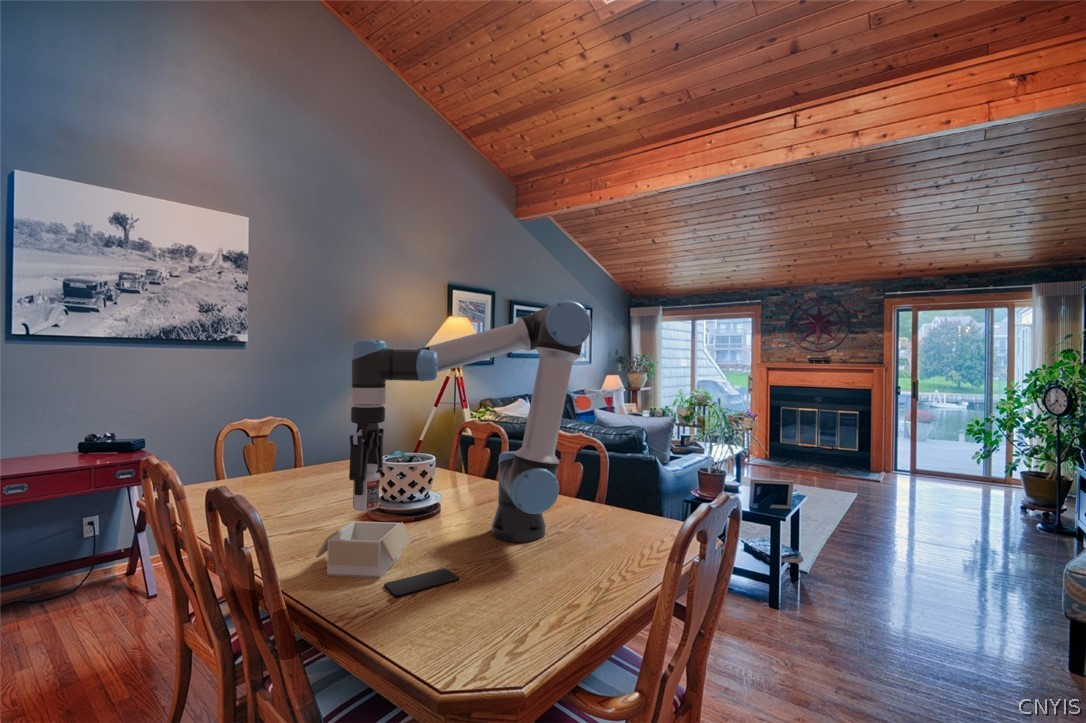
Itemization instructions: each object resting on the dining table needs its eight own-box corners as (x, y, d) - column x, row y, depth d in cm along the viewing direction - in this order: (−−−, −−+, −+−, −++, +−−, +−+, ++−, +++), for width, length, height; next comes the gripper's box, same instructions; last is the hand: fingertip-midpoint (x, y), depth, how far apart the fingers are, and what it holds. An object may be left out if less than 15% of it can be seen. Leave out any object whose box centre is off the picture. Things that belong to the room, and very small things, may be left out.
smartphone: (461, 578, 108) (395, 596, 98) (461, 582, 108) (395, 601, 98) (446, 567, 114) (382, 583, 104) (445, 571, 114) (381, 587, 104)
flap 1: (352, 520, 122) (342, 537, 122) (326, 537, 109) (315, 556, 109) (353, 521, 122) (343, 538, 122) (328, 538, 109) (317, 558, 109)
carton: (401, 554, 121) (401, 522, 121) (379, 579, 108) (379, 542, 108) (354, 552, 122) (354, 520, 122) (326, 576, 108) (326, 540, 108)
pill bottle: (370, 512, 112) (371, 468, 112) (347, 510, 113) (348, 467, 113) (383, 505, 117) (384, 463, 117) (361, 503, 118) (362, 462, 118)
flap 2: (400, 522, 121) (410, 540, 121) (380, 540, 108) (391, 560, 108) (402, 521, 121) (412, 539, 120) (382, 539, 108) (393, 559, 108)
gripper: (369, 402, 125) (367, 493, 125) (333, 408, 106) (330, 516, 106) (398, 403, 124) (396, 494, 124) (366, 409, 106) (364, 517, 105)
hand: (366, 504), depth 115 cm, fingers closed on pill bottle, 6 cm apart
